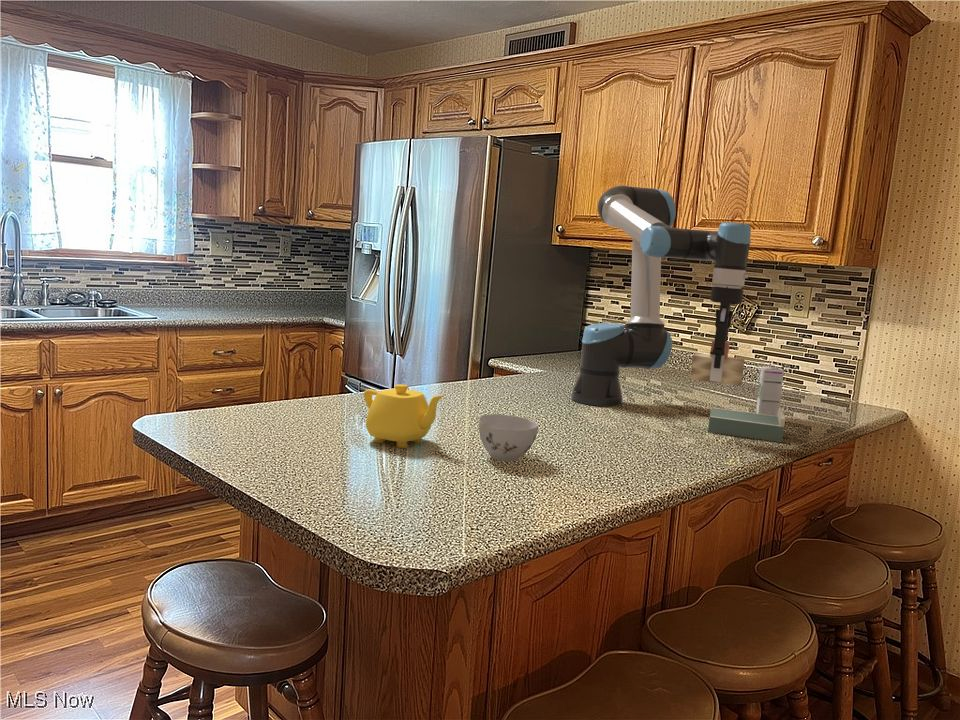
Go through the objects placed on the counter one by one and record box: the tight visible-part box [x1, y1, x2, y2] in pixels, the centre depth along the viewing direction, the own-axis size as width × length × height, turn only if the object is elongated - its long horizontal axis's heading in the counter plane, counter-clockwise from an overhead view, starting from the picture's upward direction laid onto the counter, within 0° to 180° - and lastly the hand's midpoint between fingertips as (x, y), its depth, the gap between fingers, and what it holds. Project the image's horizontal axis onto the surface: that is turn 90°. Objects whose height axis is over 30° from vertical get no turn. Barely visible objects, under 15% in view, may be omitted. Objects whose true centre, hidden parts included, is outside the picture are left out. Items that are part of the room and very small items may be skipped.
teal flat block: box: [707, 407, 786, 443], centre depth 199 cm, size 18×14×6 cm
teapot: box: [363, 383, 445, 449], centre depth 163 cm, size 13×20×12 cm
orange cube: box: [709, 339, 731, 359], centre depth 188 cm, size 4×4×4 cm
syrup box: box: [755, 365, 785, 416], centre depth 222 cm, size 6×6×14 cm
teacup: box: [478, 413, 539, 463], centre depth 157 cm, size 15×12×8 cm
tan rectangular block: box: [689, 352, 746, 387], centre depth 188 cm, size 12×6×6 cm, turn 69°
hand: (716, 379), depth 189 cm, fingers closed on tan rectangular block, 6 cm apart
